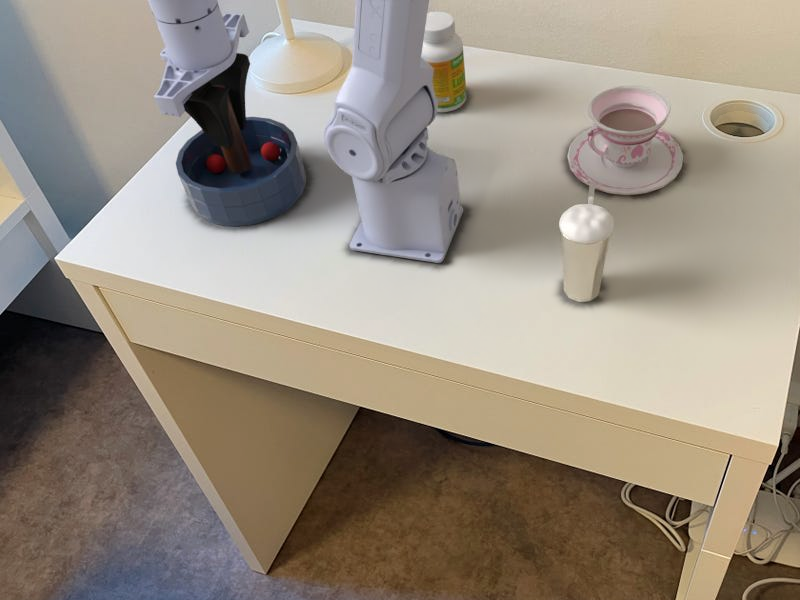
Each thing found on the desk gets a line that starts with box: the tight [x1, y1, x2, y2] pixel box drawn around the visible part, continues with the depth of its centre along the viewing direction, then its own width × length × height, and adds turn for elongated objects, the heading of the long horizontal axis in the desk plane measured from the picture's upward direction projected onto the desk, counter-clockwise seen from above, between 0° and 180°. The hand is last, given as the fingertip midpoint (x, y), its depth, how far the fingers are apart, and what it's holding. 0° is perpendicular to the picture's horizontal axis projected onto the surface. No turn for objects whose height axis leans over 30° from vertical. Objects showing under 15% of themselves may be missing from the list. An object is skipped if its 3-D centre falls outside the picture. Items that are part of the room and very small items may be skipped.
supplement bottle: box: [421, 11, 467, 113], centre depth 91 cm, size 5×5×10 cm
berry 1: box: [206, 154, 226, 174], centre depth 87 cm, size 2×2×2 cm
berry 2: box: [261, 142, 280, 161], centre depth 88 cm, size 2×2×2 cm
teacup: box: [566, 85, 684, 196], centre depth 84 cm, size 12×12×6 cm
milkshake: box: [558, 182, 615, 303], centre depth 71 cm, size 4×5×10 cm
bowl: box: [175, 116, 307, 227], centre depth 85 cm, size 12×12×4 cm
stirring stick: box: [213, 85, 252, 174], centre depth 83 cm, size 2×2×9 cm
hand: (229, 135), depth 83 cm, fingers closed on stirring stick, 2 cm apart
